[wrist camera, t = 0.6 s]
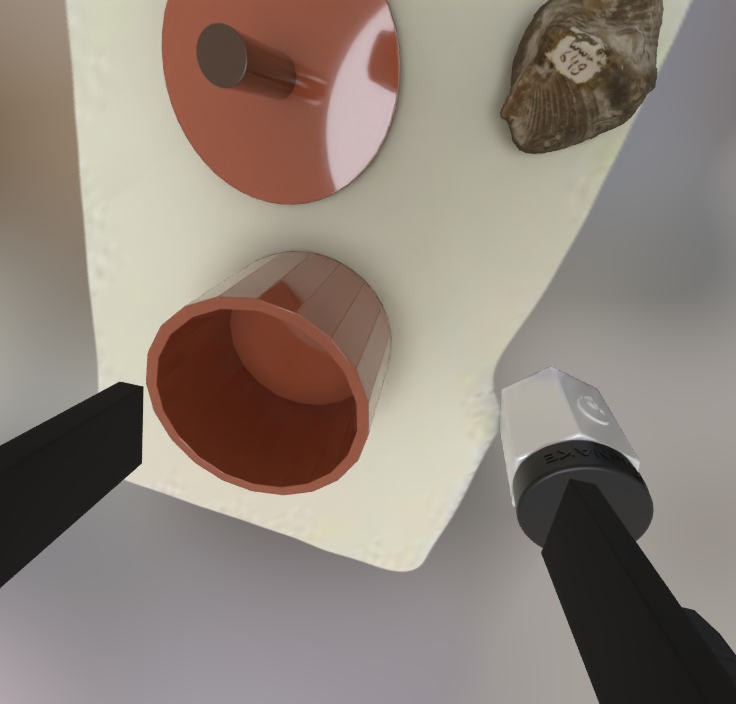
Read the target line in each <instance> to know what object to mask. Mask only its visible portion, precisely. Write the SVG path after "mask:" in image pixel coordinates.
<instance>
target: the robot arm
mask: <svg viewBox="0 0 736 704" xmlns="http://www.w3.org/2000/svg"><path fill="white" fill-rule="evenodd" d="M142 432H143V386H138V385H133V384H129V383H124V382H118V383H116V384H114V385H112V386H111V387H109V388H107V389H105V390H103V391H101V392H99V393H98V394H96V395H94V396H92V397H90V398H88V399H86V400H85V401H83V402H81V403H79V404H77V405H75V406H73V407H71V408H70V409H68V410H66V411H64V412H62V413H60V414H58V415H57V416H55V417H53V418H51V419H49V420H47V421H45V422H43V423H42V424H40V425H38V426H36V427H34V428H32V429H30V430H29V431H27V432H25V433H23V434H21V435H19V436H17V437H15V438H14V439H12V440H10V441H8V442H6V443H4V444H2V445H1V446H0V588H1V587H2V586H3V585H4V584H5V583H6V582H7V581H9V580H10V579H11V578H12V577H13V576H14V575H16V574H17V573H18V572H19V571H20V570H21V569H22V568H24V567H25V566H26V565H27V564H28V563H29V562H30V561H31V560H33V559H34V558H35V557H36V556H37V555H38V554H39V553H40V552H42V551H43V550H44V549H45V548H46V547H47V546H48V545H50V544H51V543H52V542H53V541H54V540H55V539H56V538H58V537H59V536H60V535H61V534H62V533H63V532H64V531H65V530H67V529H68V528H69V527H70V526H71V525H72V524H74V523H75V522H76V521H77V520H78V519H79V518H80V517H81V516H83V514H85V513H86V512H87V511H88V510H89V509H91V508H92V507H93V506H94V505H95V504H96V503H97V502H99V501H100V500H101V499H102V498H103V497H104V496H105V495H106V494H108V493H109V492H110V491H111V490H112V489H113V488H114V487H116V486H117V485H118V484H119V483H120V482H121V481H122V480H124V479H125V478H126V477H127V476H128V475H129V474H130V473H131V472H133V471H134V470H135V469H136V468H137V467H138V466H139V465H141V464H142ZM541 553H542V556H543V559H544V561H545V564H546V567H547V569H548V572H549V574H550V577H551V579H552V582H553V585H554V587H555V590H556V593H557V595H558V598H559V600H560V603H561V605H562V608H563V610H564V613H565V616H566V618H567V621H568V624H569V626H570V629H571V631H572V634H573V637H574V639H575V642H576V644H577V647H578V649H579V652H580V655H581V657H582V660H583V662H584V665H585V668H586V670H587V672H588V675H589V678H590V680H591V683H592V686H593V688H594V691H595V693H596V696H597V699H598V701H599V704H736V655H735V653H734V652H733V651H732V649H731V648H730V647H729V645H728V644H727V643H726V641H725V640H724V639H723V638H722V636H721V635H720V633H718V632H717V631H716V630H715V629H714V628H713V627H712V626H711V625H710V624H709V623H708V622H707V621H705V620H704V619H703V618H702V617H701V616H700V615H699V614H698V613H697V612H696V611H695V610H692V609H687V608H683V607H681V606H680V604H679V603H678V601H677V600H676V598H675V597H674V596H673V594H672V593H671V591H670V590H669V588H668V587H667V586H666V584H665V583H664V581H663V580H662V579H661V577H660V576H659V574H658V573H657V571H656V570H655V569H654V567H653V565H652V564H651V563H650V561H649V560H648V558H647V557H646V556H645V554H644V553H643V551H642V550H641V549H640V547H639V545H638V544H637V543H636V541H635V540H634V538H633V537H632V535H631V534H630V533H629V531H628V530H627V528H626V527H625V525H624V524H623V523H622V521H621V520H620V518H619V517H618V515H617V514H616V512H615V511H614V510H613V508H612V507H611V505H610V504H609V502H608V501H607V500H606V498H605V497H604V495H603V494H602V492H601V491H600V490H599V488H598V487H597V485H596V484H593V483H589V482H584V481H579V480H575V479H570V478H569V481H568V484H567V486H566V489H565V491H564V494H563V497H562V499H561V502H560V505H559V507H558V510H557V512H556V515H555V518H554V520H553V523H552V526H551V528H550V531H549V533H548V536H547V539H546V541H545V544H544V546H543V549H542V552H541Z"/></svg>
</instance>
